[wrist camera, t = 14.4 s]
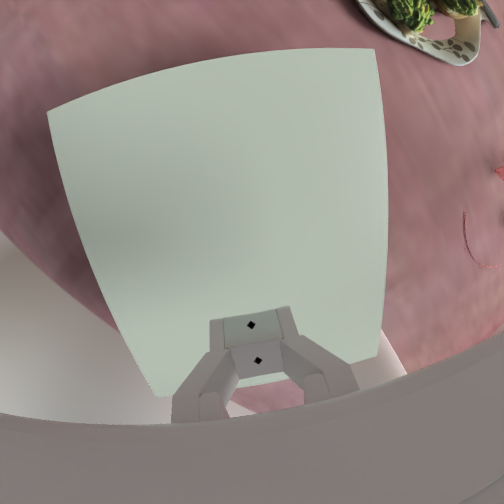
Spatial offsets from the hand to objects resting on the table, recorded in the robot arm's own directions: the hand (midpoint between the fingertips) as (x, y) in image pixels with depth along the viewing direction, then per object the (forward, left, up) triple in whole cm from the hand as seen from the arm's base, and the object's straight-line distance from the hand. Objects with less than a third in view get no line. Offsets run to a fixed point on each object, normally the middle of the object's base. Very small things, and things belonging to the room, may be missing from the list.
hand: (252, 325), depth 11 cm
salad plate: (-20, +21, -17) cm, 34 cm away
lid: (0, 0, -6) cm, 6 cm away
